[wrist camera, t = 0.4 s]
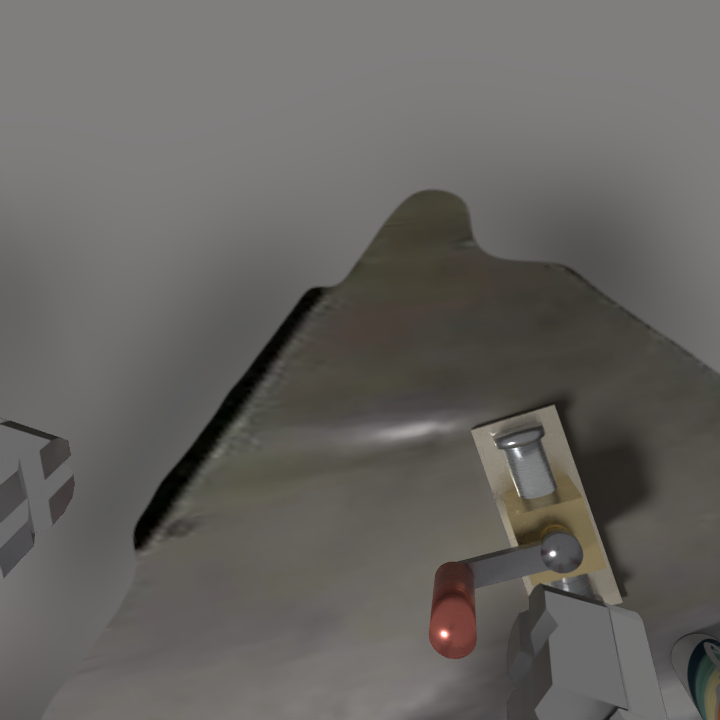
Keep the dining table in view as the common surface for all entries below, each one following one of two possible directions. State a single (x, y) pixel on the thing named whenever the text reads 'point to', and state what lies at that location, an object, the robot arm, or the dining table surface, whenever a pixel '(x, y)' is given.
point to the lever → (459, 579)
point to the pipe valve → (544, 497)
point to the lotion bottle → (699, 672)
